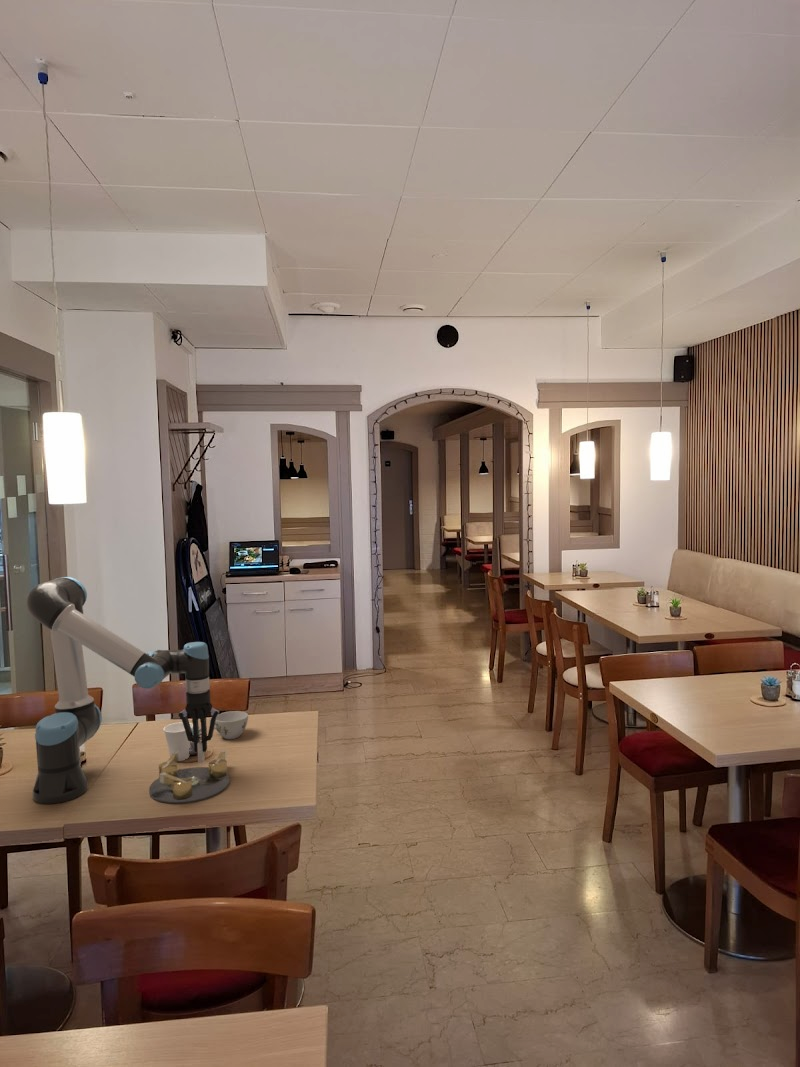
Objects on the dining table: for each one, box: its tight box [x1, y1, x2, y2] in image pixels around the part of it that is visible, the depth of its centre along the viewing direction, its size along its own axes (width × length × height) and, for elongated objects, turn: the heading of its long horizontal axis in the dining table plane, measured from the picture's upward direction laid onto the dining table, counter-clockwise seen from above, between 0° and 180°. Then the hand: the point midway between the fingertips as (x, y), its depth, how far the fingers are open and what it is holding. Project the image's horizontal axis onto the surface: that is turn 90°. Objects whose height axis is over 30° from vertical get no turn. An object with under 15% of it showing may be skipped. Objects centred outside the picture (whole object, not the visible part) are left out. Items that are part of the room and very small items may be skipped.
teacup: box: [209, 710, 249, 740], centre depth 262 cm, size 15×12×8 cm
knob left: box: [158, 751, 179, 779], centre depth 227 cm, size 13×6×4 cm, turn 3°
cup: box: [162, 721, 193, 762], centre depth 242 cm, size 10×10×11 cm
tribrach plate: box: [148, 766, 231, 805], centre depth 220 cm, size 24×24×2 cm
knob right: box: [208, 748, 228, 779], centre depth 228 cm, size 13×6×4 cm, turn 3°
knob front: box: [160, 772, 192, 799], centre depth 213 cm, size 13×6×4 cm, turn 53°
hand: (201, 761), depth 231 cm, fingers closed
